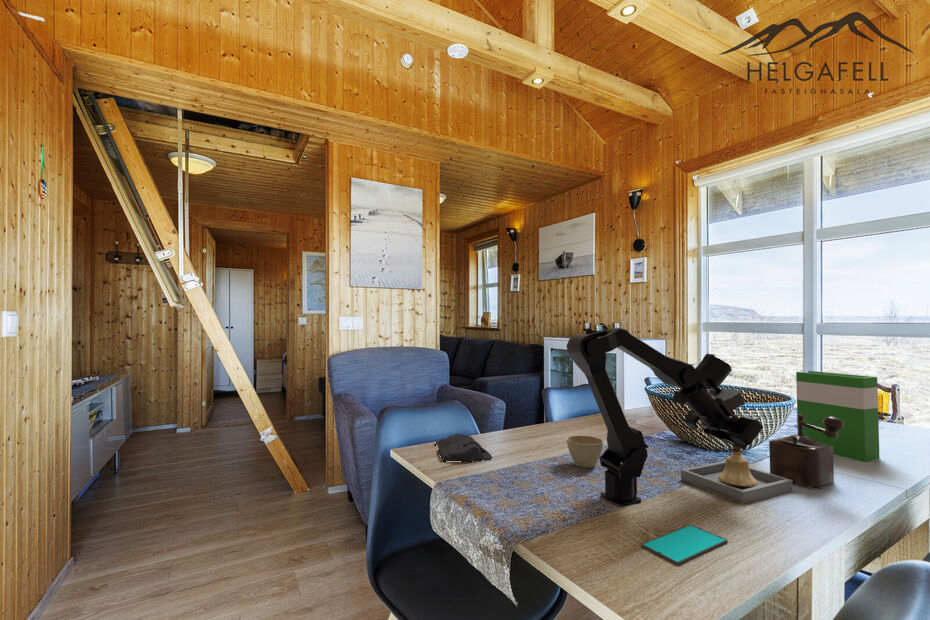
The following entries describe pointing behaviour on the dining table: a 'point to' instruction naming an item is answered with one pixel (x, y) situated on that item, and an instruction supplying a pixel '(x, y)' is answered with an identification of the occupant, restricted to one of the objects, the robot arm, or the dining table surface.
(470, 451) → the dark slate chunk
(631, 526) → the dining table surface
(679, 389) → the robot arm
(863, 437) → the hardback book
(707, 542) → the smartphone
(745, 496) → the tray
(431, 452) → the dining table surface
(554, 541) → the dining table surface
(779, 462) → the manual coffee grinder
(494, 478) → the dining table surface
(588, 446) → the flower pot
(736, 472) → the hand bell
